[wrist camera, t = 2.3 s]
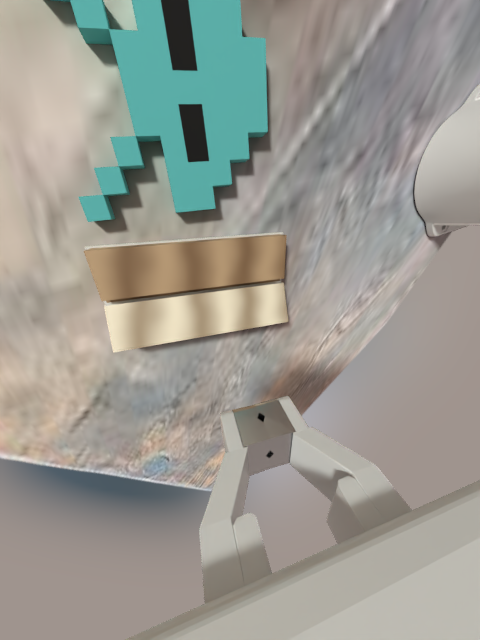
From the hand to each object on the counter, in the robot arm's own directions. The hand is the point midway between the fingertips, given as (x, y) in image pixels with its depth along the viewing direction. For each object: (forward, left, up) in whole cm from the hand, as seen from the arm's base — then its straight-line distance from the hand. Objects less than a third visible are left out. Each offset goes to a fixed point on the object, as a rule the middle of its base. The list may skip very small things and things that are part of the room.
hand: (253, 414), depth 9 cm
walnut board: (0, -2, -23) cm, 23 cm away
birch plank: (0, +5, -21) cm, 22 cm away
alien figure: (+1, -18, -24) cm, 30 cm away
